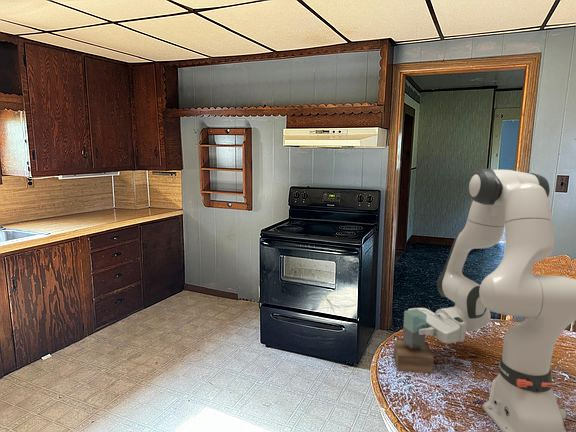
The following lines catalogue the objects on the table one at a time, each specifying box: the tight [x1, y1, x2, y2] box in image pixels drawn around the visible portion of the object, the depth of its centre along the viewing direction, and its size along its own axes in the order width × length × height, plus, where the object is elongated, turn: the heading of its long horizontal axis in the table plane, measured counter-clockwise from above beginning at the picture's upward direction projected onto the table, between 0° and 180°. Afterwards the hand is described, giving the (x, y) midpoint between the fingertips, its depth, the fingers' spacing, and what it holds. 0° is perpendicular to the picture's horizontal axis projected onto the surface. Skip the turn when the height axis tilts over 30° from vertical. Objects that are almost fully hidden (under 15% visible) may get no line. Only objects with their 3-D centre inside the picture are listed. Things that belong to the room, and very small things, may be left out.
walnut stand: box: [393, 339, 435, 374], centre depth 135 cm, size 11×11×5 cm
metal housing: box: [402, 309, 427, 349], centre depth 134 cm, size 5×5×11 cm
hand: (412, 327), depth 133 cm, fingers closed on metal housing, 5 cm apart
